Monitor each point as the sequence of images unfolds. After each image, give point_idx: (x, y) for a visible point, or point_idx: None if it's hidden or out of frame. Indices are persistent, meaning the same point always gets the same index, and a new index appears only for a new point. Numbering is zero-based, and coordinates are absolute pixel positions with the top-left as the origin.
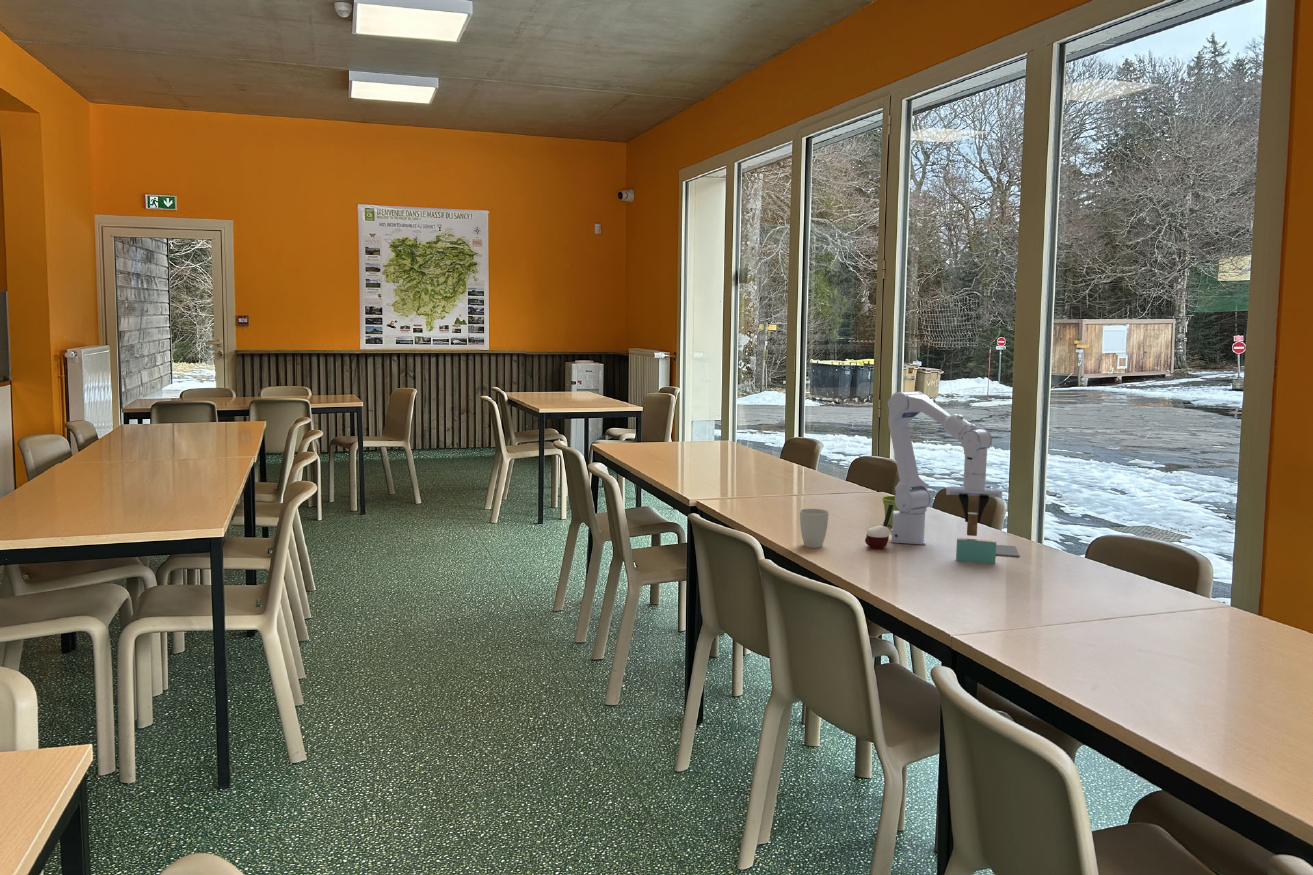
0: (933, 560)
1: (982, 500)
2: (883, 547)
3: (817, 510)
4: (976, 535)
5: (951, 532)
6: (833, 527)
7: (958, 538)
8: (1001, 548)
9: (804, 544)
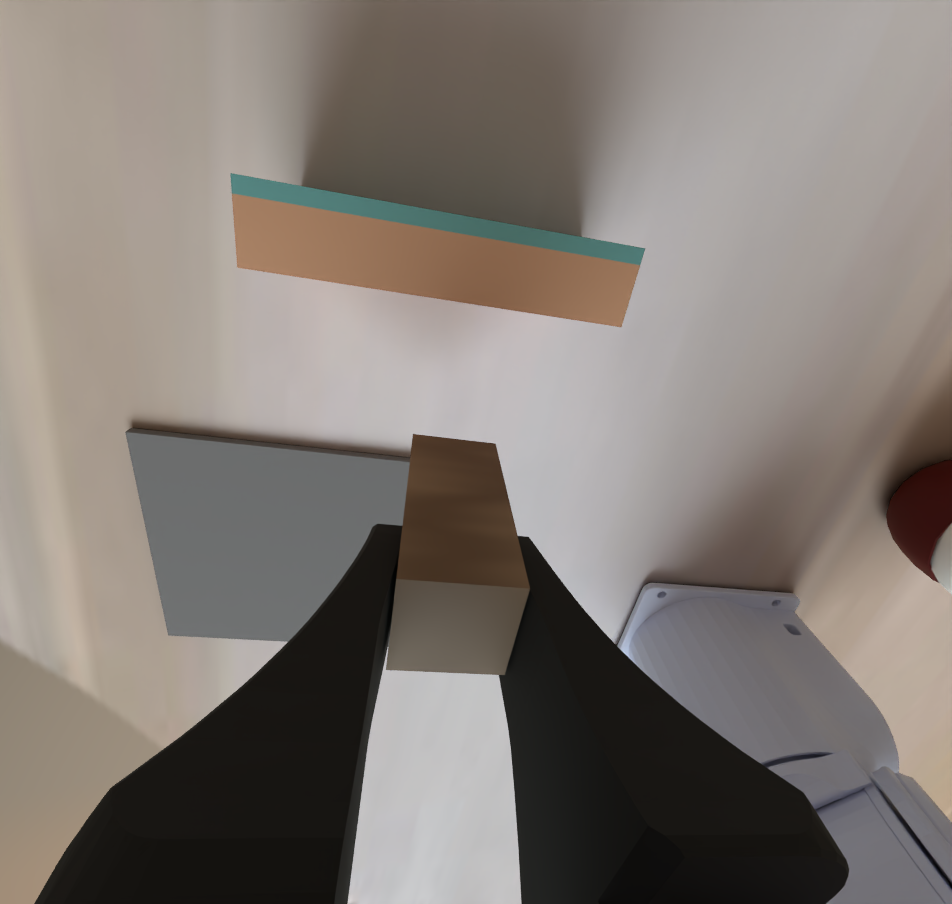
0: (744, 216)
1: (258, 821)
2: (920, 470)
3: None
4: (415, 435)
5: (451, 783)
6: (903, 754)
7: (614, 302)
8: (243, 576)
9: None
